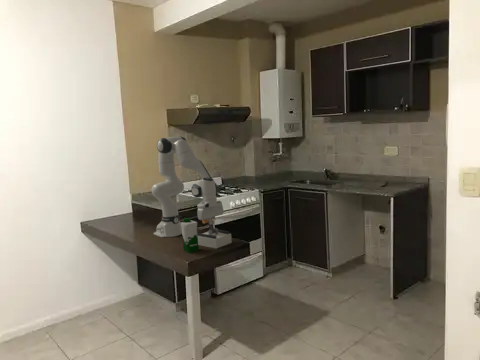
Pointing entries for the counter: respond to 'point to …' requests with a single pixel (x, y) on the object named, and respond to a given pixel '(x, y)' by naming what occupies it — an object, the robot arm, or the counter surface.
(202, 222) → the lever
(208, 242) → the box
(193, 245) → the milk carton
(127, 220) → the counter surface
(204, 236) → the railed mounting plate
